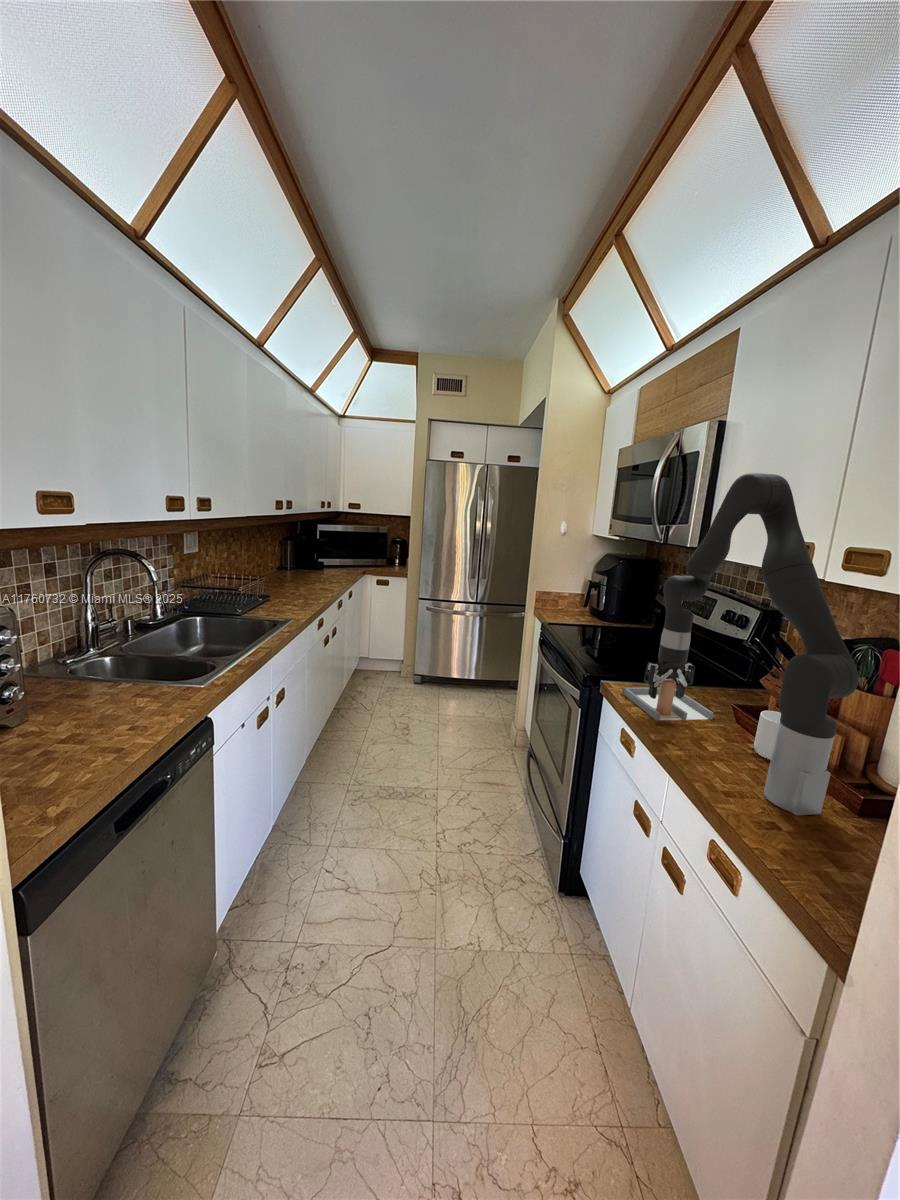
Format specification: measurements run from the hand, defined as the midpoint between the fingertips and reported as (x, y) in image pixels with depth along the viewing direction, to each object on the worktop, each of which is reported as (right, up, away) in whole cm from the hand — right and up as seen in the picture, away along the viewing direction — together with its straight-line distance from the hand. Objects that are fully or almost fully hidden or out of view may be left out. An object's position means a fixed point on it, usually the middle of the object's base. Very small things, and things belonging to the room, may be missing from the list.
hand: (665, 697), depth 137 cm
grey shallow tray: (+3, -5, +7) cm, 9 cm away
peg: (0, -5, +1) cm, 5 cm away
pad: (0, -5, +1) cm, 5 cm away
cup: (+20, -11, -15) cm, 27 cm away
